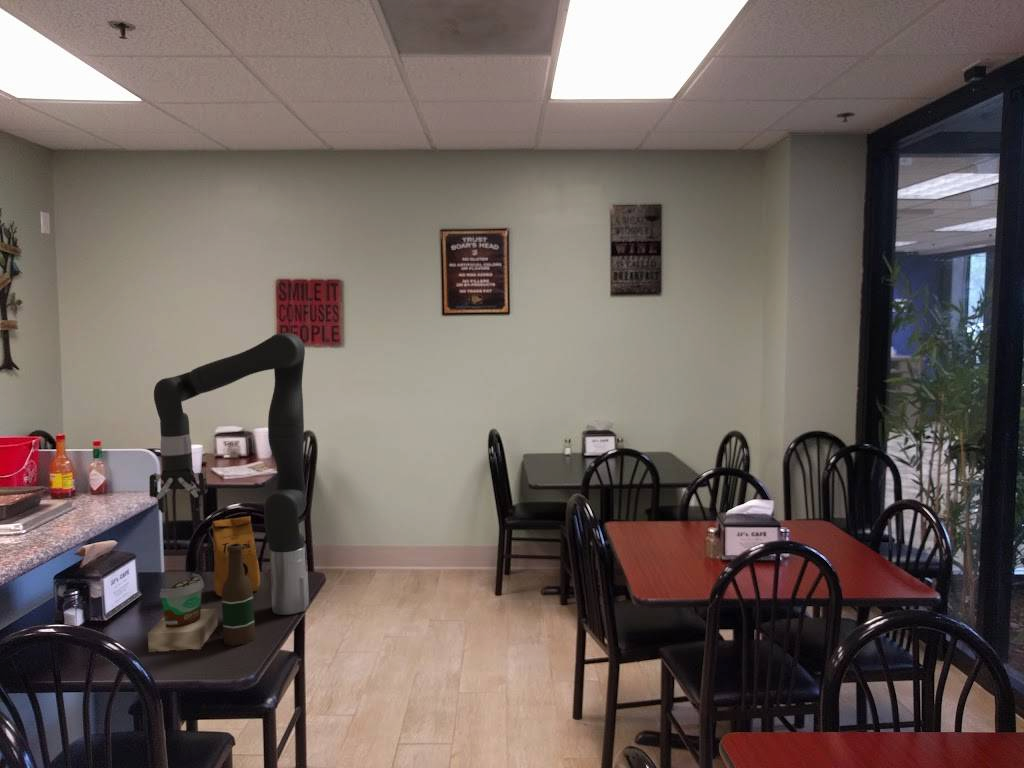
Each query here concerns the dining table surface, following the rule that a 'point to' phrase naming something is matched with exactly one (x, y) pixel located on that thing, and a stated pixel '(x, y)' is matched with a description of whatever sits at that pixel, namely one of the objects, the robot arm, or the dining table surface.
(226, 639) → the beer bottle
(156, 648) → the birch block
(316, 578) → the dining table surface
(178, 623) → the food container
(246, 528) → the coffee package
